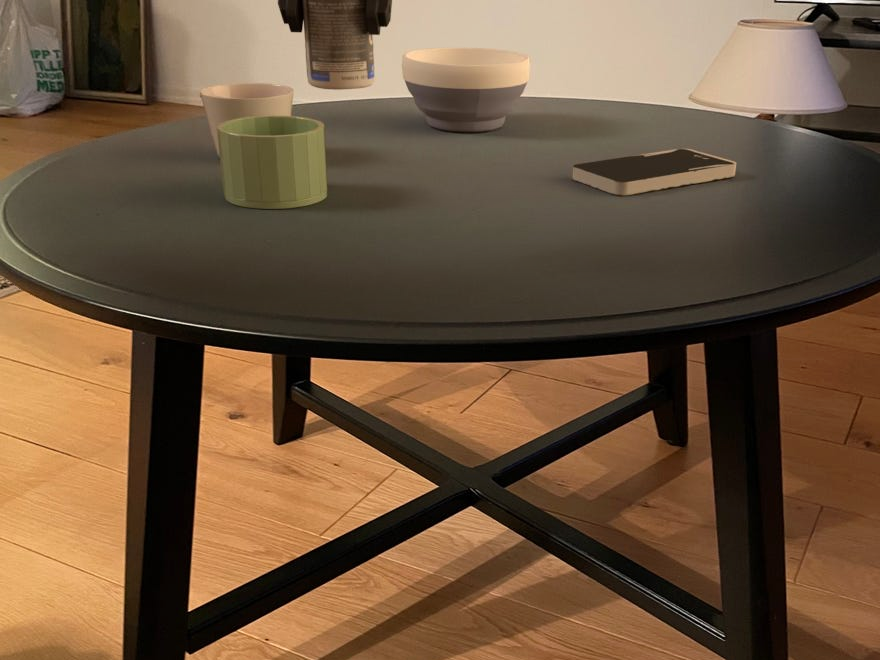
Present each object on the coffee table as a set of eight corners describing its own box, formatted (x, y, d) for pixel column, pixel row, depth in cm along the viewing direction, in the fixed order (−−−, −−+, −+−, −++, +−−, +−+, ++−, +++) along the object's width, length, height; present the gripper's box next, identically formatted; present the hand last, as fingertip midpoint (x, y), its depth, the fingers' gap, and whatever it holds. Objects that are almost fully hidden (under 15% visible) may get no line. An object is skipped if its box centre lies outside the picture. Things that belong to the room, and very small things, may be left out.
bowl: (381, 131, 115) (379, 59, 112) (431, 109, 127) (431, 44, 124) (503, 143, 111) (505, 69, 107) (543, 120, 123) (546, 52, 119)
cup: (281, 215, 86) (275, 141, 83) (202, 198, 90) (194, 127, 87) (348, 192, 92) (345, 123, 89) (272, 177, 96) (267, 111, 93)
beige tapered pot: (196, 151, 105) (188, 86, 102) (279, 143, 109) (275, 80, 106) (222, 170, 99) (215, 101, 95) (311, 161, 102) (306, 94, 99)
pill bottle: (386, 87, 72) (382, -47, 68) (324, 92, 70) (316, -45, 66) (356, 77, 75) (351, -51, 71) (296, 81, 73) (288, -50, 69)
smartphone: (569, 165, 98) (685, 147, 105) (568, 179, 98) (684, 161, 106) (621, 183, 92) (740, 163, 99) (620, 197, 93) (738, 177, 100)
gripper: (242, -227, 70) (212, -17, 66) (451, -223, 70) (435, -11, 65) (267, -136, 77) (241, 59, 73) (457, -131, 77) (442, 65, 72)
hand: (333, 24), depth 69 cm, fingers closed on pill bottle, 4 cm apart
